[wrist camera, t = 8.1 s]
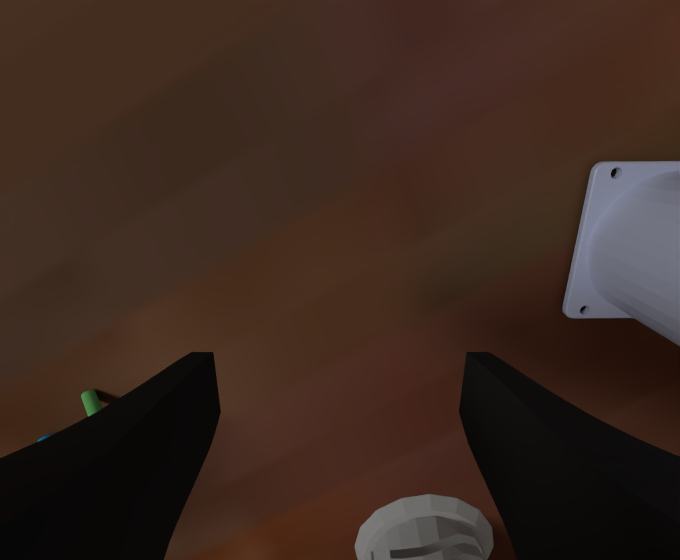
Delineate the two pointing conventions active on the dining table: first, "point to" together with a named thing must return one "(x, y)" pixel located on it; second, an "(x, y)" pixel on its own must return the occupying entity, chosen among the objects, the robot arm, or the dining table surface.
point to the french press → (425, 531)
